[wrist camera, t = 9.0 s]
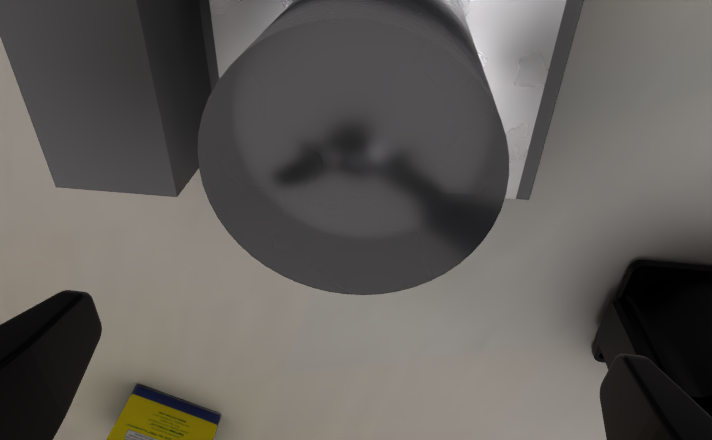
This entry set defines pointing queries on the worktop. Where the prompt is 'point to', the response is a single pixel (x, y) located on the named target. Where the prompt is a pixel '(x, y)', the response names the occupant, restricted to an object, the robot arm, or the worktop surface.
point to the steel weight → (357, 145)
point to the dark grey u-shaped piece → (149, 88)
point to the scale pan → (492, 41)
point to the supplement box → (163, 418)
